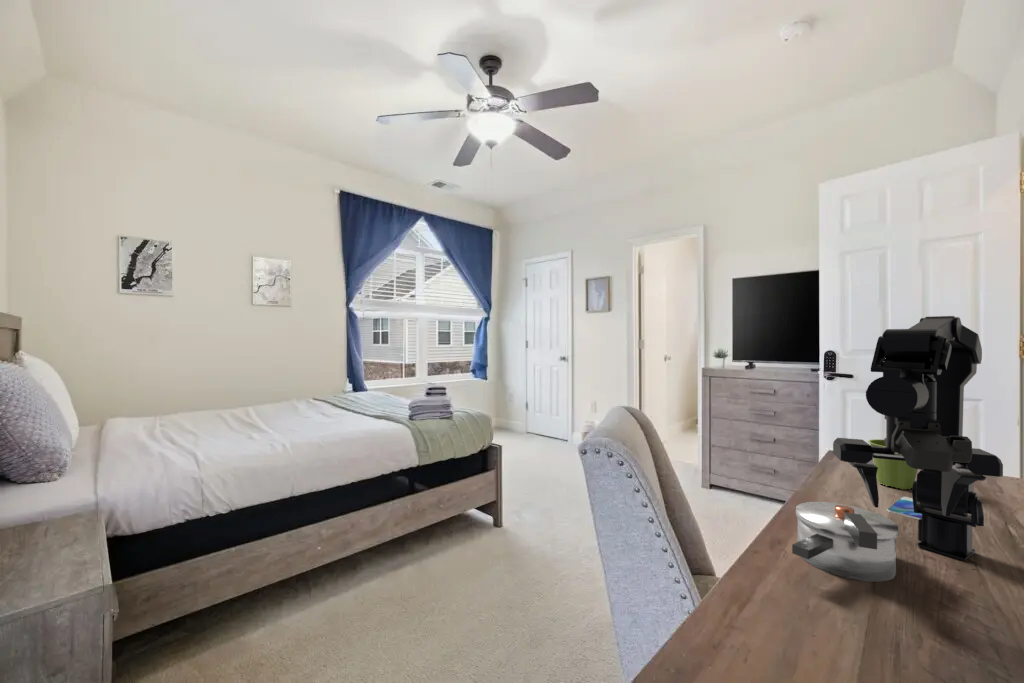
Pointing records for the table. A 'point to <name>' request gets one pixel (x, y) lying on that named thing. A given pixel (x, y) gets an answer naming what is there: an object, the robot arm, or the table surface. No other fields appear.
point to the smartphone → (904, 508)
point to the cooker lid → (848, 522)
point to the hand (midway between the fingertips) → (909, 511)
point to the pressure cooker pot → (846, 555)
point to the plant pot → (893, 470)
